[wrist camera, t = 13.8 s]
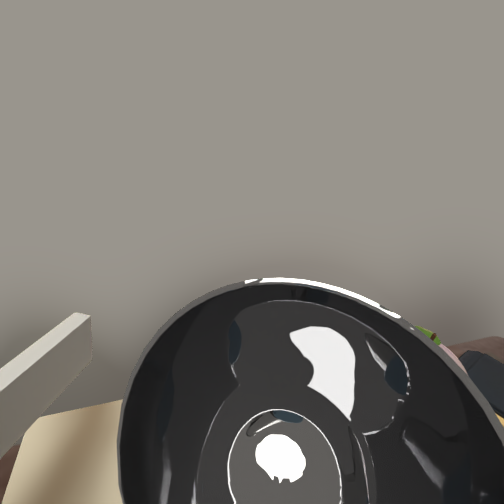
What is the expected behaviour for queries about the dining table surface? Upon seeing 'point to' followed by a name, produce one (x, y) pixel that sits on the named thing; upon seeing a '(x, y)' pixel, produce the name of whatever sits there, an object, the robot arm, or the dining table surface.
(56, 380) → the robot arm
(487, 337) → the dining table surface
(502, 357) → the dining table surface
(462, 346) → the dining table surface
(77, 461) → the board
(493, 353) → the dining table surface
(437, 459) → the wine glass
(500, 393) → the wallet
